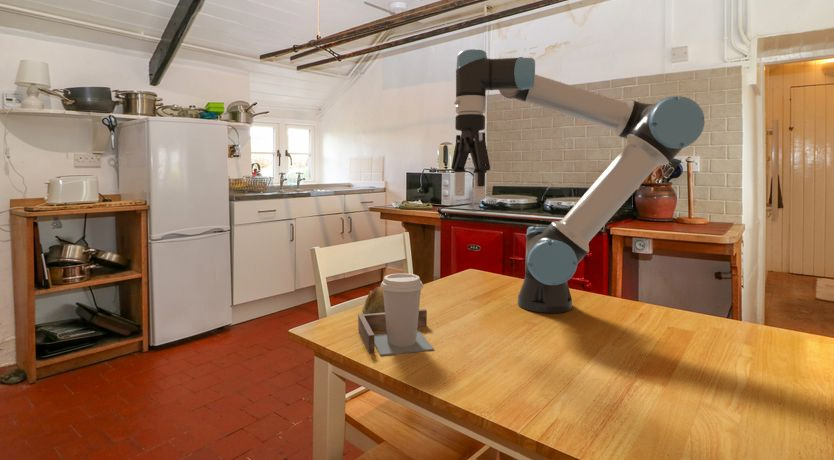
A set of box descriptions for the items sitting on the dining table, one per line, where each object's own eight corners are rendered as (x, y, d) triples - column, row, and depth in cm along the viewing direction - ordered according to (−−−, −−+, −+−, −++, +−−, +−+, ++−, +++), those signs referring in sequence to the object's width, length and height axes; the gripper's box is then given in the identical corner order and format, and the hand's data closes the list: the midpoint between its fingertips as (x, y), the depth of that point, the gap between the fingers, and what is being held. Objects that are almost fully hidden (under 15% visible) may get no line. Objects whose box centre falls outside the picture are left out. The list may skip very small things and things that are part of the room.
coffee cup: (426, 335, 112) (426, 273, 110) (418, 351, 103) (418, 283, 101) (386, 332, 114) (386, 271, 112) (375, 347, 105) (375, 281, 103)
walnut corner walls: (425, 324, 121) (425, 309, 120) (444, 345, 107) (444, 328, 106) (358, 330, 116) (358, 314, 116) (369, 353, 102) (368, 335, 102)
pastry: (353, 311, 131) (353, 283, 130) (393, 305, 138) (393, 278, 137) (376, 326, 119) (375, 296, 118) (418, 318, 126) (418, 289, 125)
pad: (418, 331, 116) (418, 330, 116) (434, 350, 104) (434, 348, 104) (370, 336, 112) (370, 335, 112) (380, 355, 101) (380, 354, 101)
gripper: (440, 118, 132) (439, 194, 135) (475, 108, 108) (474, 201, 111) (465, 119, 134) (464, 194, 137) (505, 109, 110) (503, 201, 113)
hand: (468, 197), depth 124 cm, fingers open, 13 cm apart
